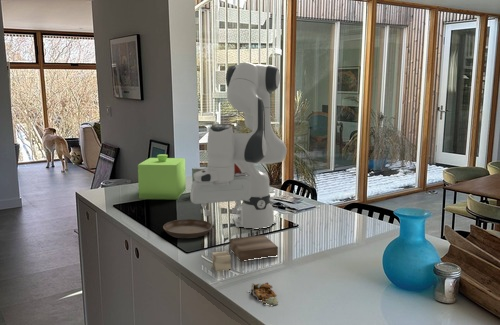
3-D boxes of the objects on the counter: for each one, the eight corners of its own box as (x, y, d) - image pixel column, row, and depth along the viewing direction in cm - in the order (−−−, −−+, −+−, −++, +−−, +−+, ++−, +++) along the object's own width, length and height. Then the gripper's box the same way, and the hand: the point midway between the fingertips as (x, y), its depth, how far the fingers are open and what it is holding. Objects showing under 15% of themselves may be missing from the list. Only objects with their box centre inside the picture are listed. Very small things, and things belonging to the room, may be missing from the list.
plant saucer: (204, 223, 206) (204, 216, 205) (218, 237, 187) (218, 229, 186) (159, 228, 198) (159, 221, 198) (168, 243, 179) (168, 235, 179)
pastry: (266, 309, 127) (266, 297, 126) (245, 292, 137) (245, 281, 136) (286, 303, 130) (286, 291, 129) (264, 287, 140) (264, 277, 140)
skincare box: (201, 196, 256) (201, 169, 253) (191, 195, 259) (191, 168, 257) (210, 193, 263) (210, 167, 260) (200, 192, 266) (199, 165, 264)
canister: (150, 189, 275) (149, 151, 271) (185, 189, 274) (184, 151, 270) (138, 199, 250) (137, 157, 246) (177, 199, 249) (176, 158, 246)
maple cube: (212, 266, 156) (212, 252, 155) (226, 264, 158) (226, 250, 157) (216, 271, 151) (216, 257, 151) (230, 270, 153) (230, 255, 152)
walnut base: (229, 248, 173) (229, 238, 172) (263, 244, 177) (264, 234, 177) (241, 261, 160) (241, 251, 159) (277, 257, 164) (277, 246, 164)
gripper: (247, 170, 156) (247, 209, 158) (188, 174, 149) (189, 214, 151) (253, 173, 150) (253, 214, 152) (192, 177, 143) (193, 219, 145)
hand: (221, 214), depth 151 cm, fingers open, 8 cm apart
